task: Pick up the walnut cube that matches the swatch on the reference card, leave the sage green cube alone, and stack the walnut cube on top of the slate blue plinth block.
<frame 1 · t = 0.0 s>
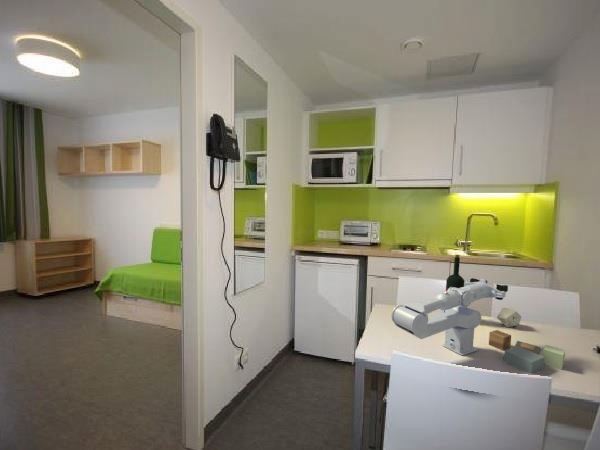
hand: (496, 285, 115), 22 cm above the table, tool horizontal, fingers open, 7 cm apart
reference card: (527, 347, 110), on the table
slate plinth: (523, 365, 98), on the table
sage cube: (552, 364, 99), on the table
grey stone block: (508, 325, 131), on the table
wine bottle: (455, 318, 137), on the table
walnut cube: (499, 346, 111), on the table
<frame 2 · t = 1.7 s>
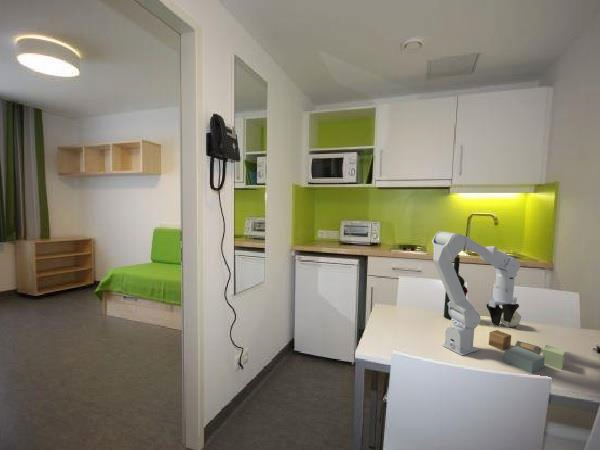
hand: (501, 323, 110), 9 cm above the table, tool pointing down, fingers open, 7 cm apart
nothing on the table moved.
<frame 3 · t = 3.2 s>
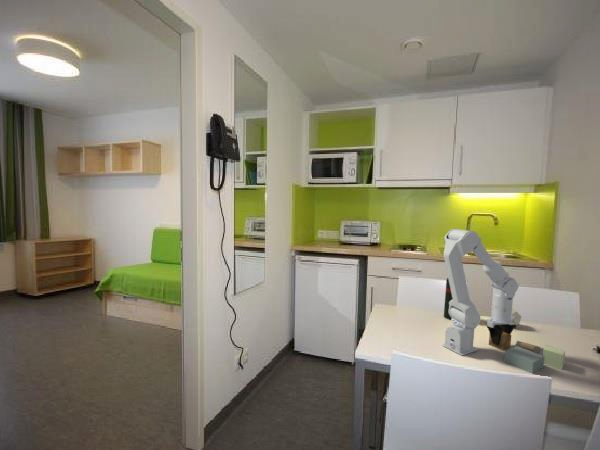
hand: (499, 342, 110), 1 cm above the table, tool pointing down, fingers closed on walnut cube, 5 cm apart
walnut cube: (499, 346, 111), on the table, touching gripper
everything else where it was.
when the fingers open (7 cm above the table, at t = 6.8 s): walnut cube drops 2 cm, resting on slate plinth.
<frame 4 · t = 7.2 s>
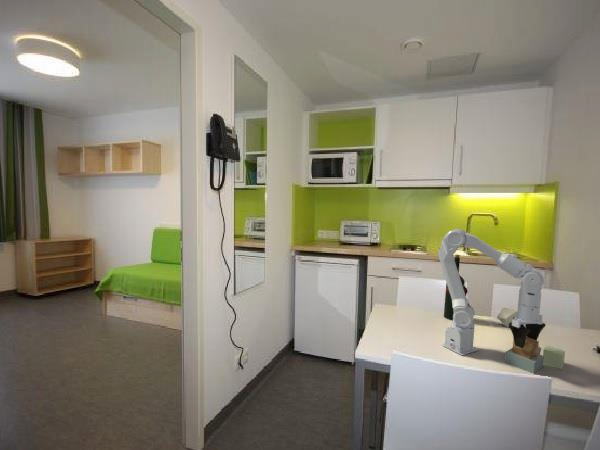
hand: (525, 344, 98), 7 cm above the table, tool pointing down, fingers open, 7 cm apart
slate plinth: (523, 365, 98), on the table, touching walnut cube
walnut cube: (524, 354, 98), point 4 cm above the table, touching slate plinth
everything else where it was.
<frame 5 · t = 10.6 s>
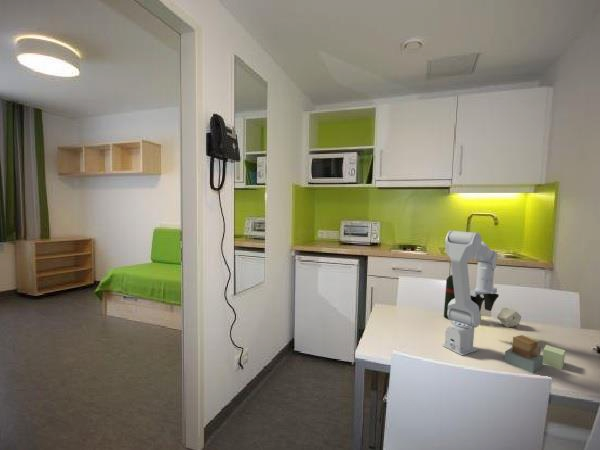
hand: (482, 311, 119), 10 cm above the table, tool pointing down, fingers open, 7 cm apart
nothing on the table moved.
at the end: walnut cube 0.2 cm off-centre on the slate plinth, point 4.0 cm above the slate plinth's base; walnut cube tilted 0°; the gripper is holding nothing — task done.
